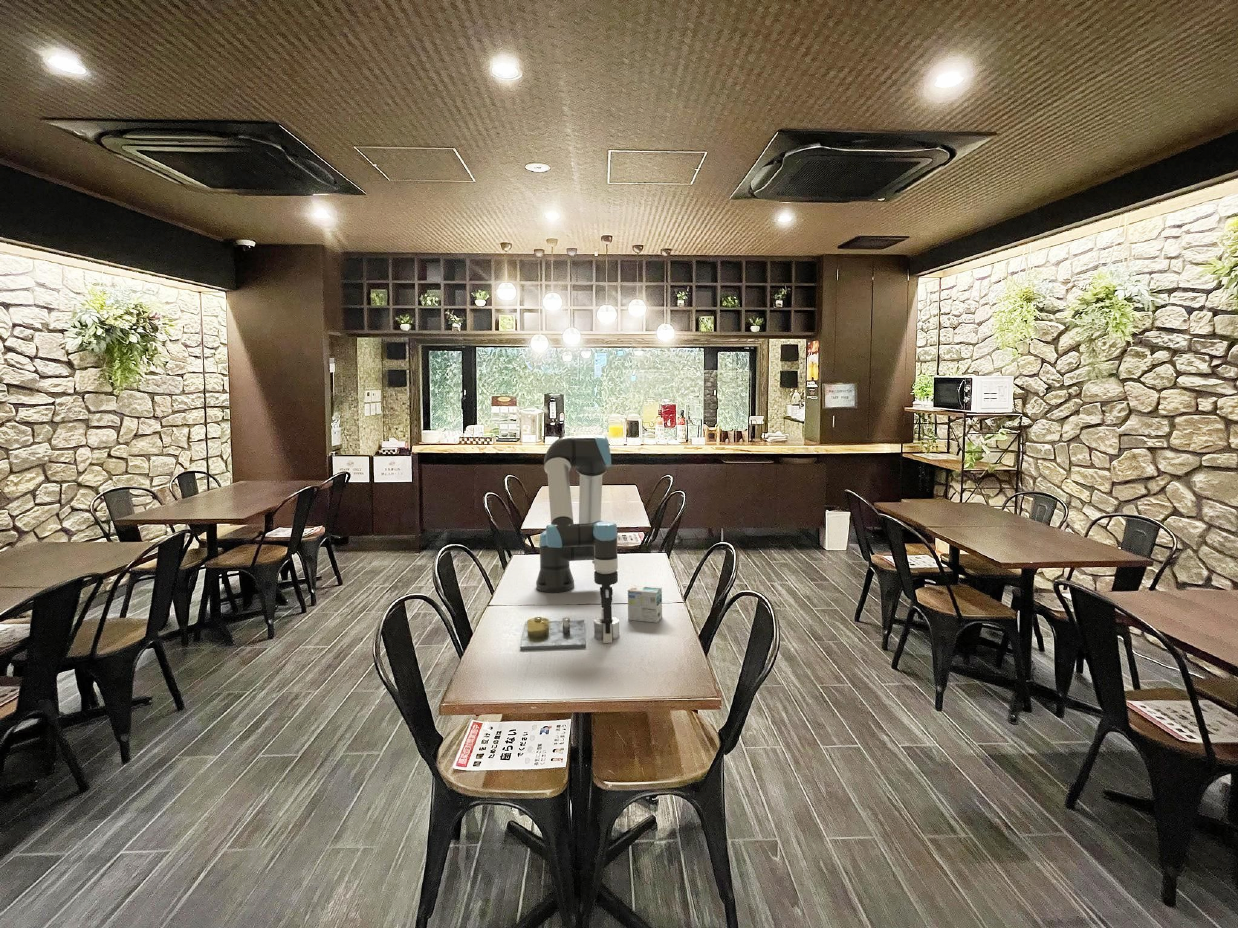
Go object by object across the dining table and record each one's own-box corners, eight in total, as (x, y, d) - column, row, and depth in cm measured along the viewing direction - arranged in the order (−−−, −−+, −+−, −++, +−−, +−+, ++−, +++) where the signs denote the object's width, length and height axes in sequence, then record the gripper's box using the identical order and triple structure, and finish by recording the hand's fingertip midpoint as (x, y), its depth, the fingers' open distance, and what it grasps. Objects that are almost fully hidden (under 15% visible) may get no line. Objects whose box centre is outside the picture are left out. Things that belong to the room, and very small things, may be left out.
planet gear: (594, 631, 230) (593, 616, 230) (618, 630, 231) (618, 615, 230) (594, 640, 222) (594, 625, 222) (619, 639, 223) (619, 624, 222)
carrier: (525, 625, 237) (524, 607, 236) (584, 623, 238) (584, 605, 237) (520, 650, 215) (519, 630, 214) (585, 647, 216) (585, 628, 216)
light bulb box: (662, 616, 244) (662, 586, 242) (657, 623, 237) (657, 592, 236) (633, 613, 247) (633, 584, 246) (627, 620, 241) (627, 589, 240)
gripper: (593, 560, 236) (594, 622, 239) (595, 581, 212) (596, 649, 214) (615, 560, 237) (616, 621, 239) (620, 580, 212) (620, 648, 215)
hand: (606, 634), depth 227 cm, fingers open, 13 cm apart
